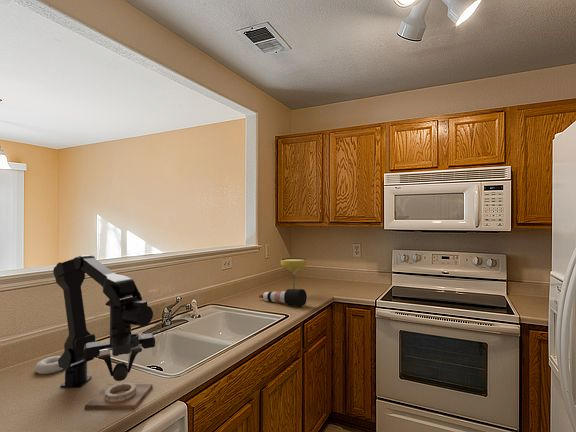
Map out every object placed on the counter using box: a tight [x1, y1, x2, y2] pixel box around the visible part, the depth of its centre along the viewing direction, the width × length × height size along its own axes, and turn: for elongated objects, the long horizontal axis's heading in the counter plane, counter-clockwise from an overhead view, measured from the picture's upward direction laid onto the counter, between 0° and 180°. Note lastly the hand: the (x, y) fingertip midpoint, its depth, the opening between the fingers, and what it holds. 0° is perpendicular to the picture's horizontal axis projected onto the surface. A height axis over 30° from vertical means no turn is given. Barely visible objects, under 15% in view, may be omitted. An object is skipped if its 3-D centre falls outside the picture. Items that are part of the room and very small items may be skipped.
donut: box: [34, 355, 64, 375], centre depth 118 cm, size 10×4×10 cm
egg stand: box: [84, 381, 153, 410], centre depth 99 cm, size 12×14×2 cm
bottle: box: [258, 288, 308, 307], centre depth 210 cm, size 10×34×10 cm, turn 55°
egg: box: [112, 361, 129, 382], centre depth 99 cm, size 4×4×5 cm
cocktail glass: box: [280, 257, 308, 289], centre depth 232 cm, size 18×18×25 cm
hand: (120, 374), depth 99 cm, fingers closed on egg, 4 cm apart
